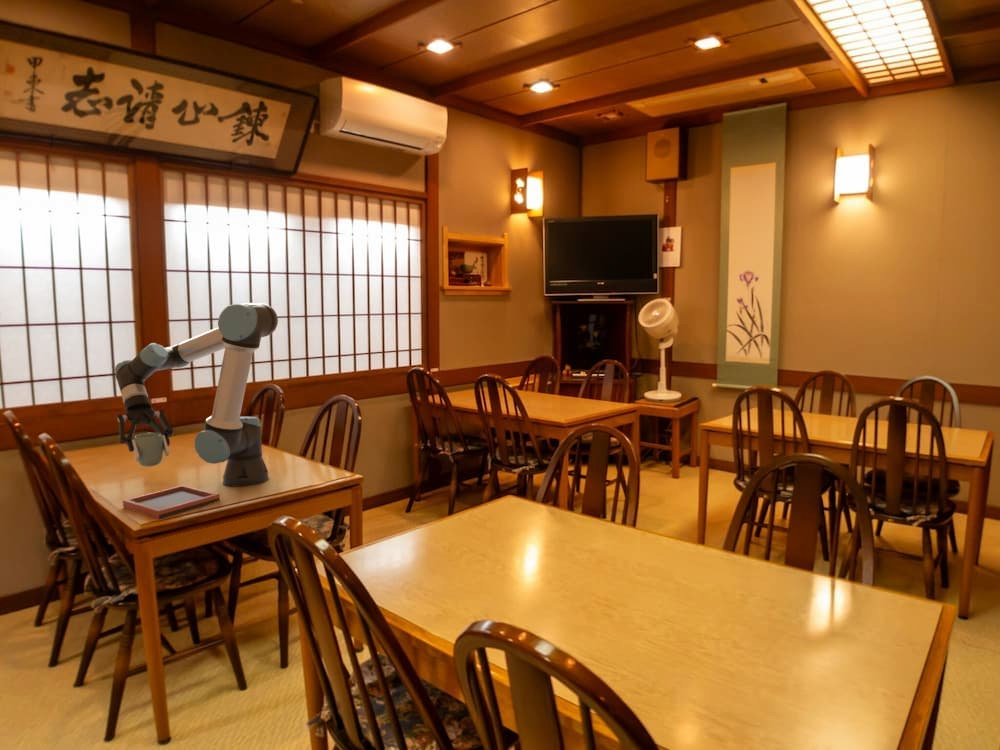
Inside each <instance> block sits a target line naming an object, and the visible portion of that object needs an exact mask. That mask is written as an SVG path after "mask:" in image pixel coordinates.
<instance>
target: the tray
mask: <svg viewBox="0 0 1000 750" xmlns="http://www.w3.org/2000/svg"><path fill="white" fill-rule="evenodd" d="M217 501H219V502H220V501H221V500H220V493H216V492H213V491H209V490H205V489H200V488H197V487H193V486H190V485H186V484H181V485H177V486H174V487H173V486H172V487H169V488H166V489H162V490H159V491H155V492H150V493H147V494H143V495H142V494H141V495H138V496H135V497H131V498H126V499H122V508H123V507H124V508H123V509H126V508H127V509H126V510H129V509H130V510H129V511H132V510H134V511H133V512H135V511H137V512H136V513H138V512H140V513H139V514H141V513H143V514H142V515H144V514H146V515H145V516H148V517H151V518H154V519H157V520H161V519H165V518H167V517H172V516H174V515H178V514H182V513H184V512H188V511H192V510H194V509H199V508H201V507H206V506H209V505H212V504H215V503H214V502H216V503H218V502H217ZM211 503H212V504H211ZM208 504H209V505H208Z"/></svg>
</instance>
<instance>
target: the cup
mask: <svg viewBox="0 0 1000 750" xmlns="http://www.w3.org/2000/svg"><path fill="white" fill-rule="evenodd" d="M133 437H134V439H135V442H136V446H137V449H138V453H139V460H138V461H137V462H138V464H139V465H140V466H142V467H146V468H147V467H155V466H158V465H159V464H161V463H162V461H163V459H164V449H163V438H162V433H157V432H145V433H139V434H136V435H134V436H133Z"/></svg>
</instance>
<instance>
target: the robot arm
mask: <svg viewBox="0 0 1000 750" xmlns="http://www.w3.org/2000/svg"><path fill="white" fill-rule="evenodd" d="M278 323H279V317H278V314H277V312H276V311H275V309H274V308H273V307H272V306H270V305H269V304H266V303H264V302H237V303H233V304H230V305H228V306H226V307H225V308H223V310H221V312H220V313H219V316H218V319H217V327H216V328H213V329H210V330H209V331H205V332H204V333H201V334H199V335H197V336H196V335H195V336H194V337H192V338H189V339H186V340H184V341H181V342H180V343H179V342H178V343H176V344H173V346H168V347H164V346H163V345H161V344H157V343H156V342H152V343H150V344H148V345H147V346H145V347H144V348H143V349H141V351H140V352H139V353H138V354H136V356H135V357H134V358H133V359H132V360H131V359H126V360H123V361H121V362H118V363H117V364H116V365H115V368H114V373H115V379H116V381H117V384H118V387H119V390H120V391H119V392H120V395H121V398H122V402H123V405H124V409H125V412H126V413H125V414H123V415H122V414H118V415H117V418H116V421H117V422H118V427H119V443H120V444H121V445H122V444H125V445H126V446H127V447H128V448H127V449H128V451H129V452H130V453H131V452H132V453H133V456H134V459H135V462H138V460H139V453H138V449H137V446H136V442H135V439H133V437H134V436H135V432H136V431H135V430H136V428H137V426H141V425H148V426H149V427H151V428H152V429H153V430H154V431H155V433H162V438H163V453H164V455H165V457H169V454H170V449H169V446H170V443H171V442H170V438H171V437H172V436H173V434H174V429H173V428H172V427H171V424H170V423H169V421H168V420H167V418H166V416H165V412H164V410H163V409H160V410H159V411H158V410H156V411H155V410H154V409H153V408H152V404H151V401H150V398H149V394H148V392H147V388H146V384H145V381H146V380H147V379H148V378H150V377H151V376H152V375H153V374H154V373H155V372H157V371H163V370H164V371H165V370H170V369H175V368H176V369H177V368H182V367H186V366H188V365H190V363H192V362H194V361H196V360H199V359H202V358H204V357H206V356H209V355H211V354H214V353H217V352H219V351H221V350H224V353H223V359H222V361H221V368H220V372H219V378H218V383H217V387H216V393H215V397H214V402H213V408H212V414H211V415H210V416H209V417H207V418H206V419H205V423H204V428H203V430H201V431H200V432H199V433H198V434H197V435H196V437H195V438H194V443H193V445H194V450H195V452H196V454H198V457H199V458H200V459H201V460H202V461H204V462H205V463H208V464H213V465H214V464H215V465H216V464H220V463H224V462H226V464H225V469H224V473H223V475H222V483H223V484H224V485H227V486H231V485H232V486H233V487H239V486H240V487H241V486H251V484H252V485H256V484H255V483H257V484H260V483H259V482H261V483H263V482H262V481H264V480H266V479H267V478H268V479H269V471H268V468H267V466H266V463H265V461H264V458H263V448H262V445H263V443H262V442H263V441H262V426H261V420H260V418H259V417H257V416H241V412H242V408H243V402H244V399H245V392H246V387H247V382H248V379H249V378H248V377H249V374H250V370H251V369H250V368H251V364H252V360H253V358H252V357H253V354H254V352H255V351H257V350H258V349H259V348H260V344H261V342H262V341H261V339H262V338H264V337H268V336H271V335H272V334H273V333H275V331H276V329H277V327H278ZM154 416H155V417H156V419H159V422H160V424H159V422H157V421H156V420H155V417H154ZM126 420H128V421H130V422H131V425H130V427H129V428H130V429H129V432H128V434H127V437H126V434H125V432H126V429H125V422H126ZM169 437H170V438H169ZM268 479H267V480H268ZM267 480H266V481H267ZM264 482H265V481H264Z"/></svg>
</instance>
